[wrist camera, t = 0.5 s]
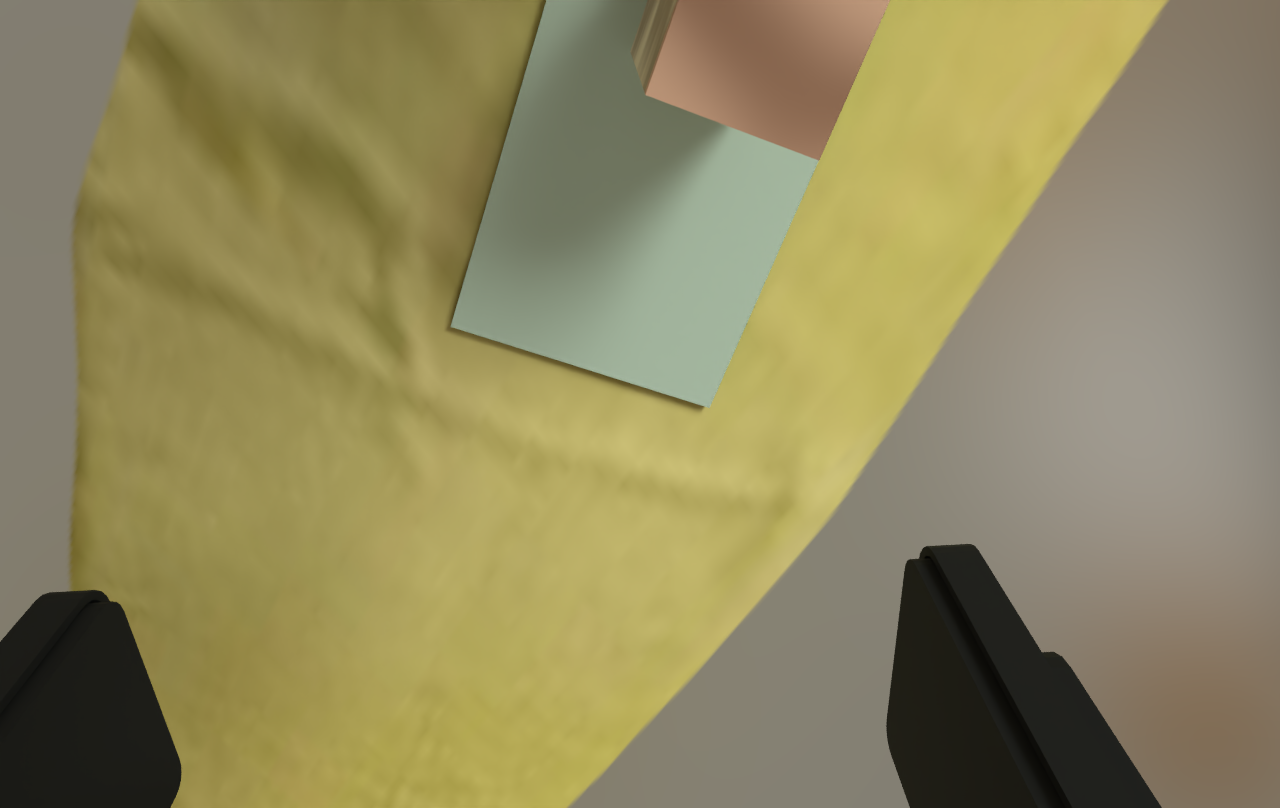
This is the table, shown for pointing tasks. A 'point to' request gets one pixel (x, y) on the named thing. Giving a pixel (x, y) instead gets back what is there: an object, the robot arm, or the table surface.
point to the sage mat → (624, 217)
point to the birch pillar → (757, 62)
